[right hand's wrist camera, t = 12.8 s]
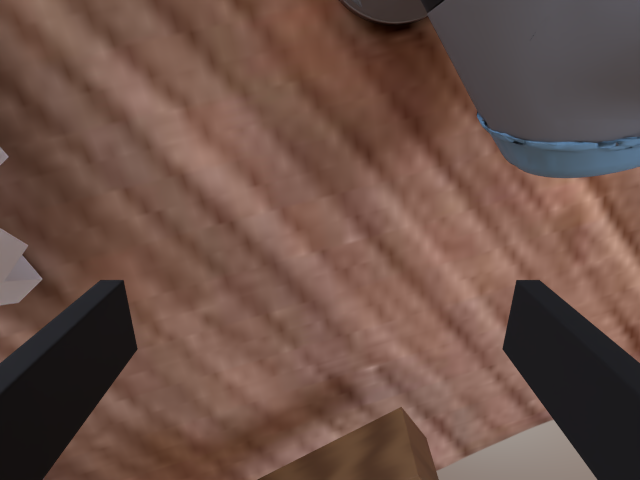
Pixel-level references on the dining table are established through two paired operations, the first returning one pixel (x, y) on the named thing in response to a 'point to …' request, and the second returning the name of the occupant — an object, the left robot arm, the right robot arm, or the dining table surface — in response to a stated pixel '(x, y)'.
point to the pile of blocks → (14, 266)
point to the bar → (368, 454)
